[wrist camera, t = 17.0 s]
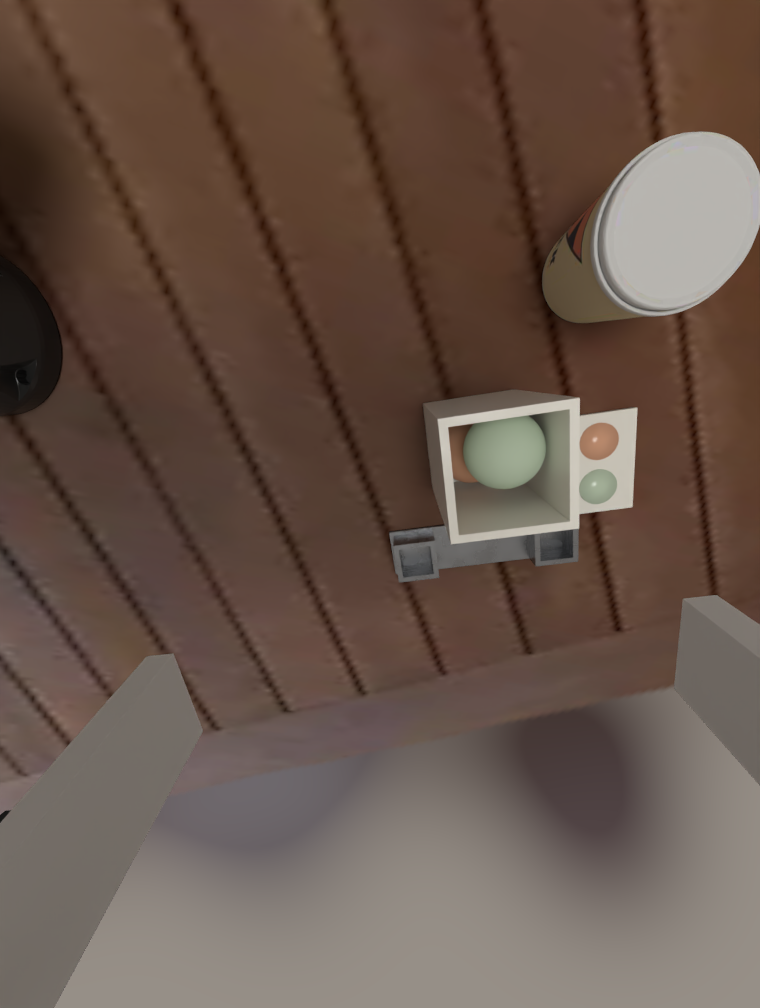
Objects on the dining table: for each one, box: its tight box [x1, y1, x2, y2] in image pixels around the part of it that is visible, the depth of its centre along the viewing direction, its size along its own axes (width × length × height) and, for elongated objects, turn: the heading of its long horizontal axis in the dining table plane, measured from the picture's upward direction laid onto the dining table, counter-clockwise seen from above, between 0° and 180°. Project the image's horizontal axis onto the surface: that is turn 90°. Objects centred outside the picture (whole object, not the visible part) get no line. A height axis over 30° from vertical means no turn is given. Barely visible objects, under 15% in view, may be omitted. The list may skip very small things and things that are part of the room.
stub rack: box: [389, 525, 578, 582], centre depth 41 cm, size 5×19×3 cm, turn 99°
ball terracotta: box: [448, 423, 479, 483], centre depth 35 cm, size 6×6×6 cm
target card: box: [579, 407, 637, 514], centre depth 39 cm, size 10×7×1 cm
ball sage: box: [463, 415, 546, 489], centre depth 30 cm, size 6×6×6 cm
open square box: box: [423, 389, 580, 544], centre depth 32 cm, size 9×9×14 cm
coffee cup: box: [542, 132, 760, 323], centre depth 28 cm, size 9×9×12 cm
